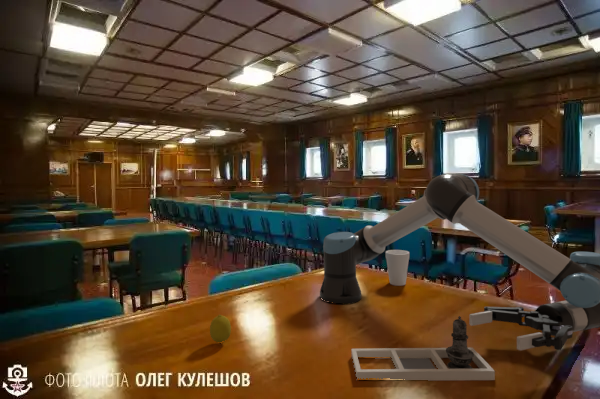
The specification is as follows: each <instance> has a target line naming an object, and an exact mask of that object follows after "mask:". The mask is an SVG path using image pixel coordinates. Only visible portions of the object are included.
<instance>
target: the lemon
mask: <svg viewBox="0 0 600 399" xmlns="http://www.w3.org/2000/svg"><path fill="white" fill-rule="evenodd" d="M209 326H210V327H209V334H210V337H211V339H212V341H214V342H215V341H216V343H218V342H222V341H224V342H226V341H227V340H228V339H229V338H230V336H231V334H232V326H231V321H230V320H229V318H228V317H226V316H225V315H222V314H218V315H217V316H215V317H214V318H213V319H212V321H211V322H210V325H209ZM225 340H226V341H225Z"/></svg>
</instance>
